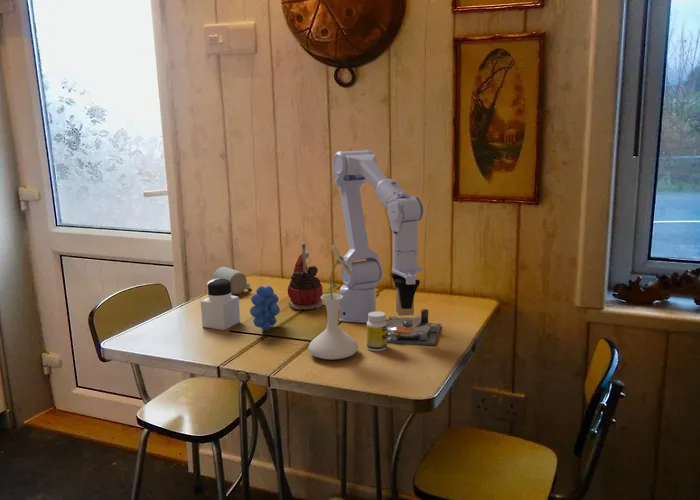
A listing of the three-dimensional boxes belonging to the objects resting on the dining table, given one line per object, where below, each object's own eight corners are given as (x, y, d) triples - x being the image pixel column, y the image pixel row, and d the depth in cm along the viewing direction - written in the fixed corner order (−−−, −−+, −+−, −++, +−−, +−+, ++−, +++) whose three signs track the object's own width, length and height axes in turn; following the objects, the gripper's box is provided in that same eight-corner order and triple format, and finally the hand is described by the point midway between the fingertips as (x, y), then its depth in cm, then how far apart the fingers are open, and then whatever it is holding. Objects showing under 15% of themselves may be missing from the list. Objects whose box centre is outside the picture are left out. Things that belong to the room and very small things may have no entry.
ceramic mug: (231, 298, 193) (230, 273, 191) (212, 293, 197) (211, 269, 196) (256, 290, 201) (255, 266, 199) (237, 286, 206) (236, 262, 204)
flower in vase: (353, 365, 142) (352, 254, 137) (303, 362, 144) (299, 253, 139) (363, 344, 155) (361, 241, 149) (316, 341, 157) (313, 240, 151)
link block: (398, 315, 152) (399, 290, 151) (396, 310, 156) (396, 286, 154) (413, 315, 152) (413, 289, 151) (410, 310, 156) (410, 285, 154)
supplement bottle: (385, 352, 149) (385, 317, 148) (365, 351, 150) (364, 316, 148) (388, 344, 154) (388, 311, 152) (368, 343, 155) (368, 310, 153)
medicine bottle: (240, 322, 172) (238, 278, 169) (224, 330, 165) (221, 285, 163) (218, 318, 175) (215, 275, 172) (201, 327, 168) (198, 282, 166)
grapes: (268, 340, 158) (266, 292, 156) (245, 336, 161) (242, 290, 158) (292, 325, 169) (290, 280, 166) (269, 321, 171) (267, 278, 169)
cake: (308, 314, 177) (306, 249, 173) (281, 309, 182) (278, 246, 178) (330, 303, 186) (328, 242, 182) (303, 298, 191) (301, 238, 187)
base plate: (372, 341, 156) (372, 338, 156) (383, 322, 170) (383, 319, 170) (434, 345, 153) (434, 343, 153) (441, 325, 166) (441, 323, 166)
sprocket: (399, 344, 152) (399, 326, 151) (369, 326, 164) (369, 309, 163) (447, 334, 158) (447, 317, 157) (414, 317, 170) (414, 301, 169)
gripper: (429, 256, 144) (428, 314, 147) (415, 242, 158) (415, 295, 161) (397, 257, 143) (397, 316, 146) (387, 243, 157) (387, 296, 160)
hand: (404, 305), depth 154 cm, fingers closed on link block, 3 cm apart
